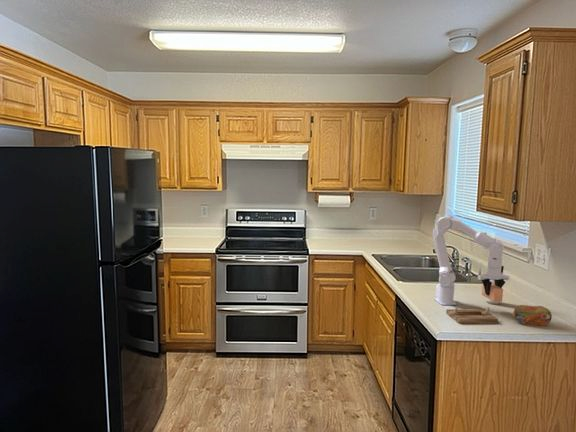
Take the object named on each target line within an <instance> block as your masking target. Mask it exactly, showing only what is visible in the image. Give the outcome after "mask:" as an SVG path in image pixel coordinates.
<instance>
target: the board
mask: <svg viewBox="0 0 576 432" xmlns="http://www.w3.org/2000/svg"><path fill="white" fill-rule="evenodd" d="M490 310H491V309H490V307H489V306H487V307H486V310H485V309H483V308H482V309H481V308H477V309H476V308H470V309H468V308H467V309H465V308H464V309H463V308H462V309H461V308H460V309H459V308H458V307H454V309H450V308H449V309H448V308H447V309H446V310H445V313H446V315H448V316H449V317H450V318H451V319H452V320H454V321H455V322H456V323H457V324H465V325H466V324H468V325H469V324H498V323H499V318H497V317H496V316H495V315H493V314H492V313H490Z"/></svg>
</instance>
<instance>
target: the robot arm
mask: <svg viewBox="0 0 576 432" xmlns="http://www.w3.org/2000/svg"><path fill="white" fill-rule="evenodd" d="M449 229H451V230H459V231H461V232H463V233H465V234H466V235H468V236H470V237H471V238H473V241H474V243H476V244H478V245H479V246H481V247H483V249H486V250H488V252H489V256H488V262H487V273H486V274H478V275H477V280H479V281H481V282H482V286H483V285H484V288H485V294H487V295H489V294H490V287H491V284H492V282H490V280H494V281H495V285H496V286H498V287H500V288H502V289H503V287H504V286H505V284H506V281H510V276H509V275H506V274H503V275H501V266H503V265H502V264H503V251H504V249H505V246H504V243H502V241H500V240H497V239H496V238H493V237H491V236H490V235H488V232H486V231H484V232H483V231H477V230H475V229H473V228H472V227H470V226H469V225H467V224H466V223H465V222H463V221H462V220H460V219H458V218H456V217H454V216H452V215H450V214H446V215H444V216H441V217H440V218H438V220H436V222H435V226H434V228H433V230H432V237H433V244H434V248H435V251H436V256H437V261H438V266H439V270H438V274H439V277H438V282H439V283H438V284H436V287H435V294H434V295H435V297H433V300H434V301H436V302H437V303H438V304H440V305H442V306H456V305H457V302H455V301H454V295H455V283H454V282H455V281H456V278H457V276H456V273H455V272H454V271H453V268H452V266H451V263H450V258H449V254H448V249H447V245H446V239H445V234H446V232H447V231H448V230H449Z"/></svg>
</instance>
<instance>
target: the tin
mask: <svg viewBox="0 0 576 432" xmlns="http://www.w3.org/2000/svg"><path fill="white" fill-rule="evenodd" d="M513 318H514V320H516V321H517V323H519V324H521V325H525V326H538V325H539V327H540V326H542V327H543V326H546V325H549V324H550V323H551V321H552V318H553V315H552V312H551V311H550V309H548V308H547V307H544V306H542V305H530V304H529V305H528V304H520V305H517V306H516V307H515V308H514V310H513Z"/></svg>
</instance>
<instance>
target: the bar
mask: <svg viewBox="0 0 576 432" xmlns="http://www.w3.org/2000/svg"><path fill="white" fill-rule="evenodd" d="M503 294H504V289H503V287H502V288H500V287H498V286H496V285H494V284H491V287H490V294H489V295H487V294H485V288H484V285H483V284H482V289H481V295H482V296H483V297H485V298H486V299H487V298H488V299H490V300H492V301H493V302H500V303H502V302H503V296H504V295H503Z"/></svg>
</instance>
